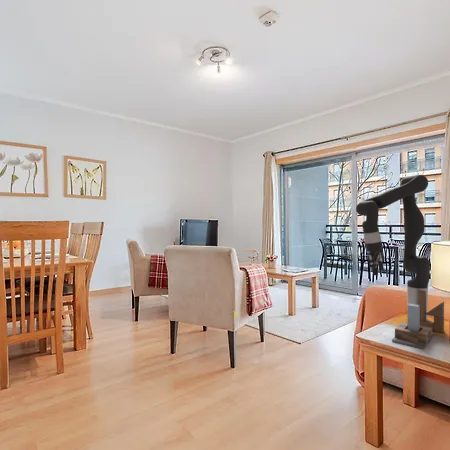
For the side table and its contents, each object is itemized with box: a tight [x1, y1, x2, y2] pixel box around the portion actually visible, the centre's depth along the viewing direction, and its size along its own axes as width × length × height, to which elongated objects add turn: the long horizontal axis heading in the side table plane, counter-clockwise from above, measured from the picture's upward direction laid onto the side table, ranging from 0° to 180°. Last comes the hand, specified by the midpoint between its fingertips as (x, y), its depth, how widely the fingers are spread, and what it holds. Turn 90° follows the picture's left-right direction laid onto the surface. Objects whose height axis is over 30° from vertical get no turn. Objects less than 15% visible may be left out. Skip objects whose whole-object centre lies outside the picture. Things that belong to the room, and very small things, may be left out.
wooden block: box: [418, 290, 445, 334], centre depth 152 cm, size 4×11×18 cm, turn 45°
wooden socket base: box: [391, 321, 435, 350], centre depth 142 cm, size 20×12×4 cm, turn 136°
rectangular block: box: [407, 304, 420, 332], centre depth 142 cm, size 3×4×14 cm
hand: (378, 272), depth 158 cm, fingers open, 8 cm apart
